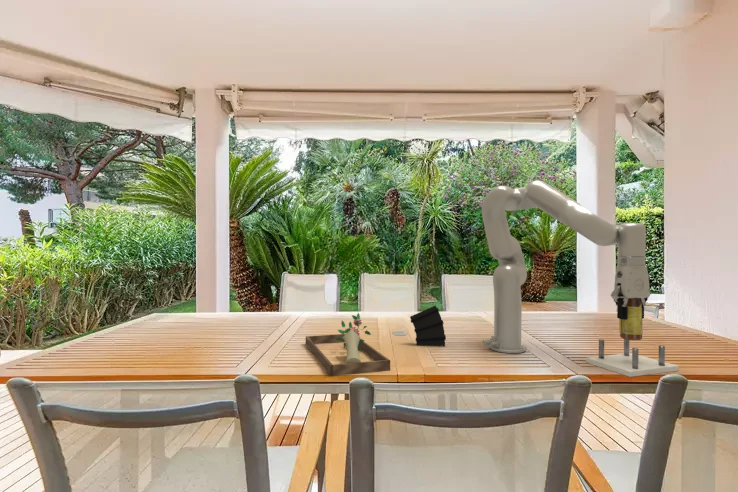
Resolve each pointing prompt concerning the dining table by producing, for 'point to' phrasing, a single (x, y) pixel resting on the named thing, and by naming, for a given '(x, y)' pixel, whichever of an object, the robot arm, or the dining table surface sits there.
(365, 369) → the wooden frame
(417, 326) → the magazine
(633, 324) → the sauce bottle
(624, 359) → the standoff base
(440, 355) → the dining table surface
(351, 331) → the flower vase
